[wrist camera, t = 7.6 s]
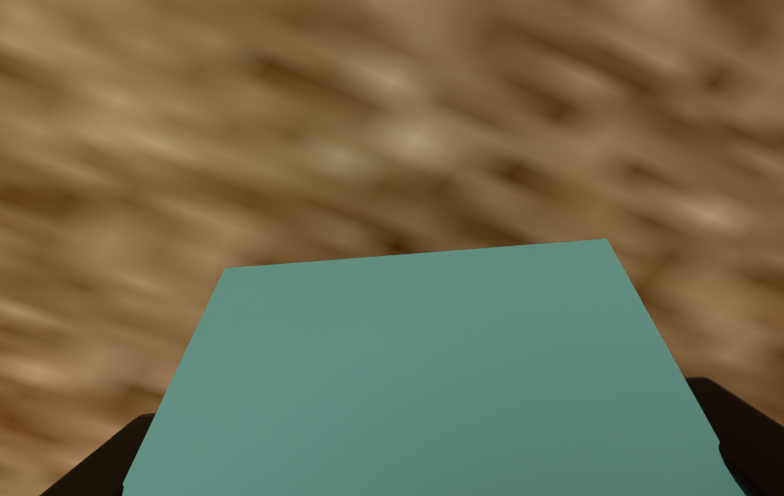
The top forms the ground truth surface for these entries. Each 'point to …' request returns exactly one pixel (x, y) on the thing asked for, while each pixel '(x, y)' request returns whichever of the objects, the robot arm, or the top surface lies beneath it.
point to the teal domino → (431, 384)
